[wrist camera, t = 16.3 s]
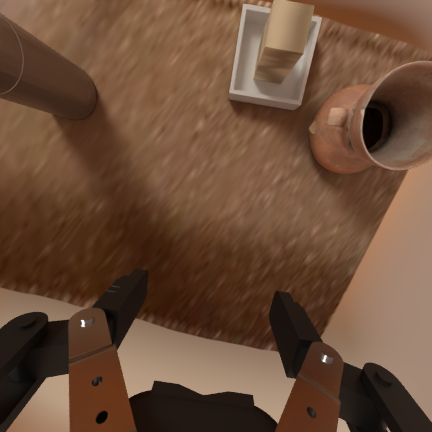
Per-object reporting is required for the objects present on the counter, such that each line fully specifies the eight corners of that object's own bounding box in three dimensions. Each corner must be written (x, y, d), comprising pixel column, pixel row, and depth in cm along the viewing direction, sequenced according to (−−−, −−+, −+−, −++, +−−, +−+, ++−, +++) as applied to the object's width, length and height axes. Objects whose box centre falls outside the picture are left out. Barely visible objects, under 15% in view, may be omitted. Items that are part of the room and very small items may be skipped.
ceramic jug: (289, 167, 39) (327, 170, 26) (307, 84, 36) (364, 36, 22) (376, 179, 40) (460, 188, 26) (404, 99, 36) (518, 61, 22)
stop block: (252, 79, 35) (265, 46, 25) (259, 46, 34) (274, -2, 24) (280, 84, 35) (303, 53, 25) (287, 51, 34) (314, 5, 24)
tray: (228, 99, 37) (229, 92, 33) (241, 19, 34) (243, 3, 30) (293, 110, 37) (300, 105, 33) (311, 32, 34) (322, 17, 30)
